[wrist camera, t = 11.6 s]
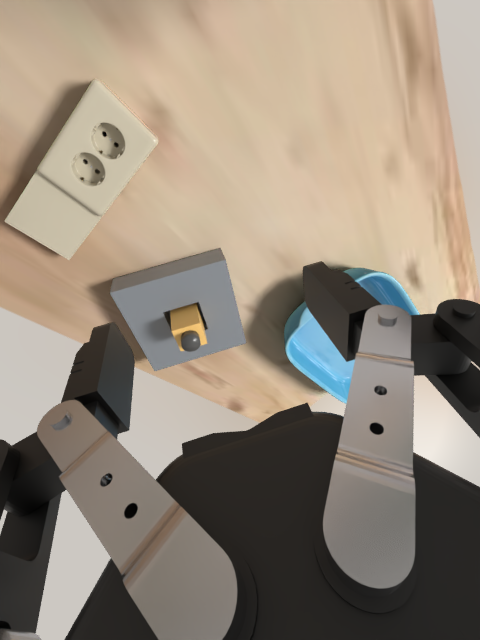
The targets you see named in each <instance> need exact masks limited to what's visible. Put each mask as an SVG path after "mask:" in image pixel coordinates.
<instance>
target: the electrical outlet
mask: <svg viewBox="0 0 480 640" xmlns="http://www.w3.org/2000/svg"><path fill="white" fill-rule="evenodd" d="M104 132H106V134H107V135H105V133H104ZM116 143H118V144H119V146H118V145H116ZM157 144H158V136H157V135H156V134H155V133H154V132H153V131H152V130H151V129H150V128H149V127H148V126H147V125H146V124H145V123H144V122H143V121H142V120H141V119H140V118H139V117H138V116H137V115H136V114H135V113H134V112H133V111H132V110H131V109H130V108H129V107H128V106H127V105H126V104H125V103H124V102H123V101H122V100H121V99H120V98H119V97H118V96H117V95H116V94H115V93H114V92H113V91H112V90H111V89H110V88H109V87H108V86H107V85H106V84H105V83H104V82H103V81H101V80H98V79H93V80H92V82H91V84H90V85H89V87H88V88H87V90H86V92H85V93H84V95H83V96H82V98H81V99H80V101H79V103H78V104H77V106H76V107H75V109H74V111H73V112H72V114H71V115H70V117H69V118H68V120H67V122H66V123H65V125H64V126H63V128H62V129H61V131H60V133H59V134H58V136H57V137H56V139H55V141H54V142H53V144H52V145H51V147H50V148H49V150H48V152H47V153H46V155H45V156H44V158H43V160H42V161H41V163H40V164H39V166H38V168H37V171H36V172H35V174H34V175H33V177H32V178H31V180H30V182H29V183H28V185H27V186H26V188H25V189H24V191H23V193H22V194H21V196H20V197H19V199H18V201H17V202H16V204H15V205H14V207H13V208H12V210H11V212H10V213H9V215H8V216H7V218H6V219H5V221H4V222H6V223H8V224H9V225H11V226H13V227H14V228H16V229H18V230H19V231H21V232H23V233H24V234H26V235H28V236H29V237H31V238H33V239H34V240H36V241H38V242H39V243H41V244H43V245H44V246H46V247H48V248H49V249H51V250H53V251H54V252H56V253H58V254H59V255H61V256H63V257H64V258H66V259H68V260H70V258H71V257H72V256H73V254H74V253H75V252H76V250H77V249H78V248H79V247H80V245H81V244H82V243H83V241H84V240H85V239H86V237H87V236H88V235H89V233H90V232H91V231H92V229H93V228H94V227H95V225H96V224H97V223H98V221H99V220H100V219H101V217H102V216H103V215H104V214H105V213H106V211H107V210H108V209H109V207H110V206H111V205H112V203H113V202H114V201H115V199H116V198H117V197H118V196H119V194H120V193H121V192H122V190H123V189H124V188H125V186H126V185H127V184H128V182H129V181H130V180H131V178H132V177H133V176H134V174H135V173H136V172H137V170H138V169H139V168H140V166H141V165H142V164H143V163H144V161H145V160H146V159H147V157H148V156H149V155H150V153H151V152H152V151H153V149H154V148H155V147H156V145H157Z"/></svg>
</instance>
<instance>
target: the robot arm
mask: <svg viewBox="0 0 480 640" xmlns="http://www.w3.org/2000/svg"><path fill="white" fill-rule="evenodd" d="M303 283H304V297H305V302H306V305H307V308H308V310H309V311H310V313H311V314H312V315H313V317H314V318H315V319H316V321H317V322H318V324H319V325H320V326H321V328H322V329H323V330H324V332H325V333H326V335H327V336H328V337H329V339H330V340H331V341H332V343H333V344H334V345H335V347H336V348H337V350H338V351H339V352H340V354H341V355H342V356H343V358H344V359H345V361H346V362H349V361H352V360H355V362H354V368H353V373H352V378H351V383H350V388H349V393H348V399H347V404H346V409H345V414H344V417H343V416H341V415H337V414H333V413H327V412H312V411H311V410H310V407H309V405H308V403H305V404H302V405H299V406H296V407H293V408H290V409H287V410H284V411H281V412H278V413H276V414H274V415H272V416H271V417H269V418H268V419H266V420H264V421H263V422H261V423H259V424H258V425H256V426H255V427H253V428H251V429H250V430H247V431H238V432H224V433H213V434H210V435H207V436H204V437H200V438H197V439H194V440H191V441H188V442H185V443H183V444H182V450H183V454H182V455H181V456H179V457H178V458H176V459H175V460H174V461H173V462H172V463H171V464H169V465H168V466H167V467H166V468H165V469H164V471H163V472H162V473H161V474H160V475H159V476H158V478H157V479H156V480H155V479H154V478H153V477H152V476H151V475H150V474H149V473H148V472H147V471H146V470H145V469H144V468H143V467H142V465H141V464H140V463H139V462H137V460H136V459H135V458H134V457H133V456H132V455H131V454H130V453H129V452H128V451H127V450H126V449H125V448H124V447H123V446H122V445H121V444H120V443H119V442H118V441H117V435H118V434H119V433H122V432H125V431H128V430H129V426H130V413H131V401H132V388H133V376H134V364H135V361H134V356H133V352H132V350H131V348H130V346H129V345H128V343H127V341H126V340H125V338H124V337H123V335H122V333H121V332H120V330H119V328H118V327H117V325H116V324H115V323H114V322H111V323H108V324H105V325H101V326H98V327H94V328H93V330H92V334H91V337H90V341H89V342H87V343H84V344H83V346H82V347H81V348H80V350H79V351H78V352H77V354H76V357H75V360H74V363H73V365H74V366H72V370H71V374H70V376H69V379H68V382H67V385H66V388H65V392H64V395H63V398H62V401H61V403H60V404H58V405H56V406H55V407H53V408H52V409H51V410H50V411H48V412H47V413H46V414H45V416H44V417H43V418H42V420H41V421H40V423H39V425H38V428H37V432H36V433H33V434H32V435H30V436H28V437H26V438H25V439H23V440H21V441H19V442H18V443H16V444H14V445H12V446H11V445H10V444H8V443H7V442H6V441H4V440H0V519H1V516H2V513H3V510H4V509H5V510H6V511H8V512H7V515H6V519H5V522H4V525H3V528H2V531H1V535H0V640H41V639H40V637H39V636H38V635H36V634H35V633H36V628H37V622H38V617H39V611H40V606H41V601H42V595H43V590H44V585H45V579H46V574H47V568H48V563H49V558H50V552H51V547H52V541H53V536H54V531H55V525H56V520H57V515H58V509H59V504H60V498H61V493H62V492H63V491H65V490H67V491H68V492H69V494H70V495H71V497H72V498H73V500H74V502H75V503H76V505H77V506H78V508H79V509H80V511H81V512H82V514H83V515H84V517H85V518H86V520H87V522H88V523H89V525H90V526H91V528H92V529H93V531H94V532H95V534H96V535H97V537H98V538H99V540H100V541H101V543H102V544H103V546H104V548H105V549H106V550H107V552H108V554H109V555H110V557H111V559H110V561H109V562H108V564H107V566H106V568H105V569H104V571H103V573H102V575H101V576H100V578H99V580H98V582H97V584H96V585H95V587H94V589H93V591H92V592H91V594H90V596H89V598H88V599H87V601H86V603H85V605H84V607H83V608H82V610H81V612H80V614H79V615H78V617H77V619H76V620H75V622H74V624H73V626H72V628H71V630H70V631H69V633H68V635H67V636H66V638H65V640H480V487H479V486H476V485H475V484H473V483H471V482H469V481H467V480H465V479H463V478H461V477H459V476H458V475H456V474H454V473H452V472H450V471H448V470H446V469H444V468H442V467H440V466H438V465H436V464H435V463H433V462H431V461H429V460H427V459H425V458H423V457H421V456H419V455H418V454H416V453H414V452H413V412H414V411H413V410H414V405H413V404H414V375H425V376H426V377H427V378H428V379H429V381H430V382H431V383H432V384H433V385H434V386H435V387H436V389H437V390H438V391H439V392H440V393H441V394H442V395H443V397H444V398H445V399H446V400H447V401H448V402H449V403H450V404H451V406H452V407H453V408H454V409H455V410H456V411H457V412H458V413H459V415H460V416H461V417H462V418H463V419H464V420H465V422H466V423H467V424H468V425H469V426H470V427H471V428H472V429H473V431H474V432H475V433H476V434H477V435H478V436H479V437H480V370H479V369H478V368H477V367H475V366H474V365H473V364H472V363H471V361H473V362H474V363H475V364H476V365H477V366H478V367H479V368H480V304H478V303H475V302H472V301H468V300H462V299H452V300H447V301H444V302H442V303H440V304H439V305H438V307H437V310H436V314H423V315H410V314H409V313H408V312H407V311H405V310H404V309H402V308H400V307H397V306H393V305H382V304H381V303H380V302H379V301H377V300H376V299H375V298H374V297H373V296H372V295H371V294H370V293H369V292H367V291H366V290H365V289H364V288H363V287H361V285H360V284H359V283H357V282H355V280H354V279H353V278H352V277H351V276H350V275H349V274H348V273H345V272H342V271H340V270H337V269H335V270H331V269H329V268H328V267H327V266H326V265H325V264H324V263H323V262H322V261H320V262H317V263H314V264H310V265H307V266H304V267H303Z"/></svg>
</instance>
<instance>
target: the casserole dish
mask: <svg viewBox="0 0 480 640" xmlns="http://www.w3.org/2000/svg"><path fill="white" fill-rule="evenodd" d="M343 272H345V273H348V274H349V275H350V276H351V277H352V278H353V279H354V280H355V282H357V283H359V284H360V285H361V287H363V288H364V289H365V290H366V291H367V292H369V293H370V294H371V295H372V296H373V297H374V298H375V299H376V300H377V301H379V302H380V303H381V304H382V305H393V306H397V307H400V308H402V309H404V310H405V311H407V312H408V313H409V314H410V315H420V314H419V312H418V311H417V309H416V307H415V306H414V304H413V303H412V301H411V299H410V298H409V296H408V295H407V293H406V292H405V290H404V289H403V287H402V286H401V285H400V284H399V282H398V281H397V280H396V279H395V278H393V277H392V276H390V275H388V274H386V273H383V272H377V271H374V270H370V269H365V268H352V269H348V270H345V271H343ZM284 340H285V352H286V355H287V357H288V359H289V361H290V362H291V363H292V364H293V365H294V366H295V367H296V368H297V369H298V370H299V371H300V372H302V373H303V374H304V375H306V376H307V377H308V378H309V379H311V380H312V381H313V382H315V383H316V384H317V385H319V386H320V387H321V388H323V389H324V390H325V391H327V392H328V393H329V394H331V395H332V396H334V397H335V398H337V399H338V400H340V401H341V402H344V403H346V404H347V399H348V393H349V388H350V383H351V378H352V373H353V368H354V362H355V360H352V361H349V362H346V361H345V359H344V358H343V356H342V355H341V354H340V352H339V351H338V350H337V348H336V347H335V345H334V344H333V343H332V341H331V340H330V339H329V337H328V336H327V335H326V333H325V332H324V330H323V329H322V328H321V326H320V325H319V324H318V322H317V321H316V319H315V318H314V317H313V315H312V314H311V313H310V311H309V310H308V308H307V305H306V302H305V301H304V302H303V303H302V304H301V305H300V306H299V307H298V308H297V309H296V310H295V311H294V312H293V313H292V314H291V315H290V317H289V318H288V320H287V322H286V325H285V330H284Z"/></svg>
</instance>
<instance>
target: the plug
mask: <svg viewBox="0 0 480 640" xmlns="http://www.w3.org/2000/svg"><path fill="white" fill-rule="evenodd" d="M170 316H171V330H172V333H173V336H174V338H175V340H176V342H177V344H178V346H179V349H180V351H188V352H192V351H196V350H197V349H198V348H199V347H200V346H201V345H204V344H207V339H206V334H205V329H204V325H203V320H202V316H201V313H200V310H199V307H198V304H197V303H193V304H190V305H186V306H183V307H180V308H176V309H173V310H170Z"/></svg>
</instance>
